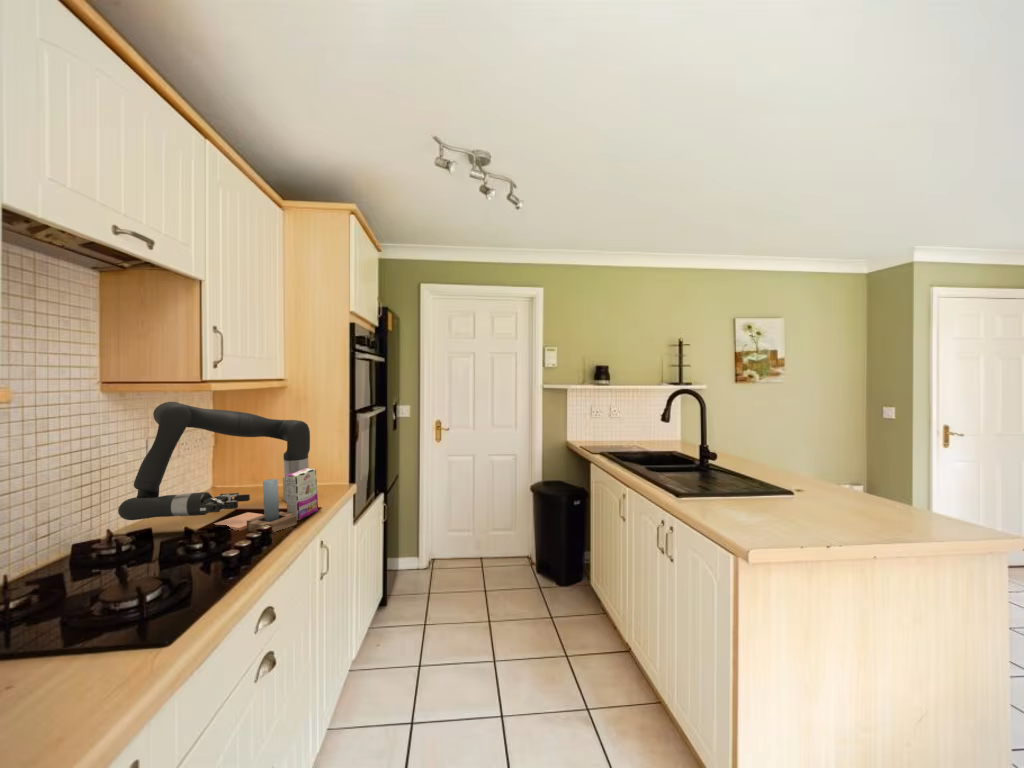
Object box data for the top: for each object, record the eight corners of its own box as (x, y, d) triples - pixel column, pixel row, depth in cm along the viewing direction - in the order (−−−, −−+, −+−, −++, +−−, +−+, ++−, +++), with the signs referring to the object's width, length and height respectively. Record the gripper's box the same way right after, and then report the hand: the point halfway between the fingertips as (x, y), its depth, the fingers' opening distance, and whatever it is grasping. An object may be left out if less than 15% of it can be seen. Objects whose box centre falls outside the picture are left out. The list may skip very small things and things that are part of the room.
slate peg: (261, 528, 151) (259, 481, 151) (273, 523, 155) (271, 478, 155) (271, 529, 150) (269, 482, 149) (282, 525, 154) (280, 479, 153)
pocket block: (242, 530, 149) (242, 522, 149) (274, 519, 161) (274, 510, 160) (269, 535, 144) (268, 526, 144) (300, 522, 156) (300, 514, 156)
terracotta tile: (213, 526, 154) (213, 523, 154) (247, 514, 166) (247, 512, 166) (239, 530, 149) (239, 527, 149) (272, 518, 161) (272, 515, 161)
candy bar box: (307, 510, 170) (305, 468, 169) (318, 511, 169) (316, 468, 168) (286, 520, 159) (284, 475, 158) (298, 521, 158) (296, 475, 157)
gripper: (178, 499, 142) (232, 496, 144) (203, 487, 156) (252, 484, 158) (179, 522, 142) (234, 518, 144) (204, 508, 156) (253, 505, 158)
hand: (243, 501), depth 151 cm, fingers open, 8 cm apart
